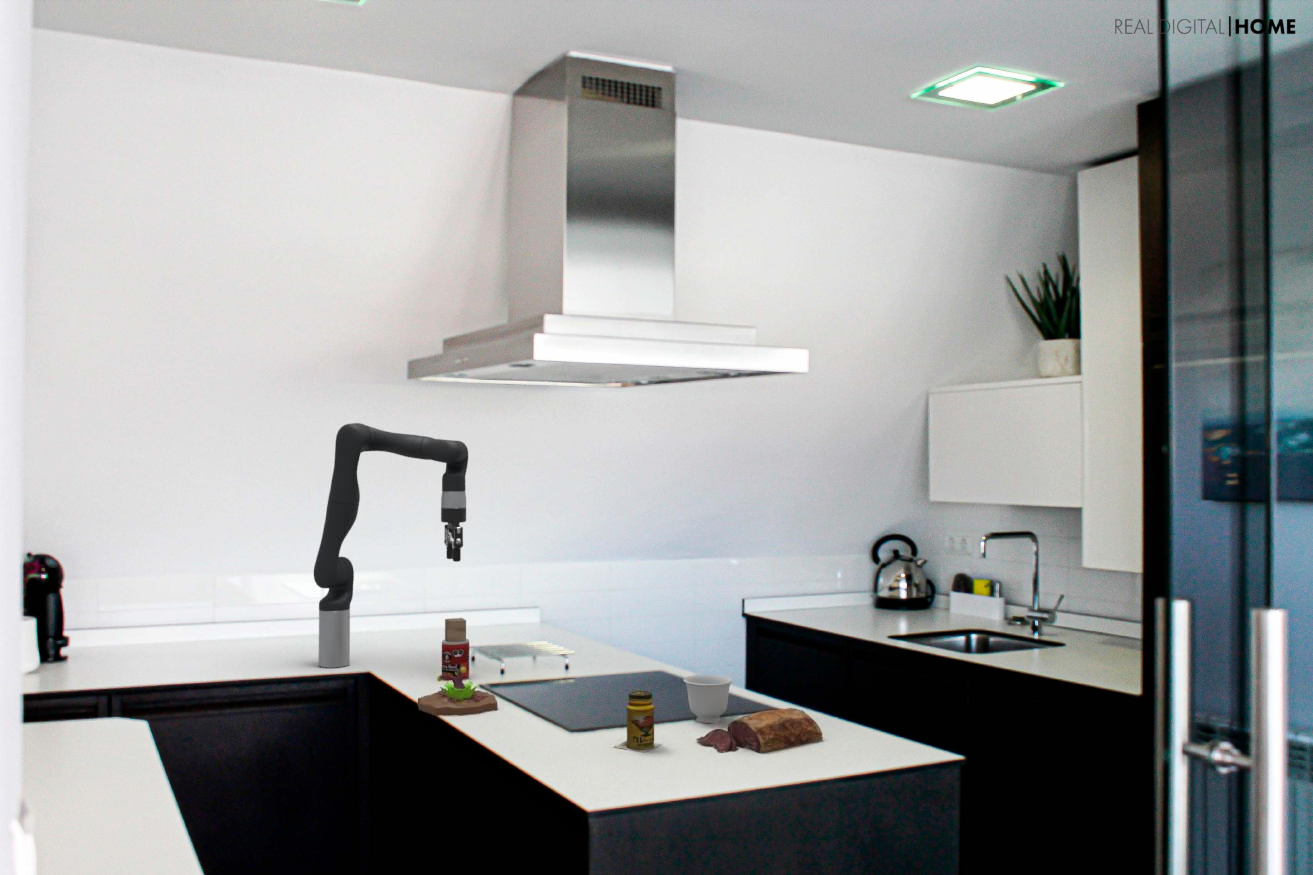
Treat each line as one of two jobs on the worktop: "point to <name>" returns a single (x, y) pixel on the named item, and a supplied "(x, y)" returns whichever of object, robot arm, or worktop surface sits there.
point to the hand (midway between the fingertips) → (453, 560)
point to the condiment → (640, 722)
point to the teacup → (708, 696)
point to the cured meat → (765, 731)
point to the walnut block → (455, 629)
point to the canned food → (455, 658)
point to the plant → (457, 698)
